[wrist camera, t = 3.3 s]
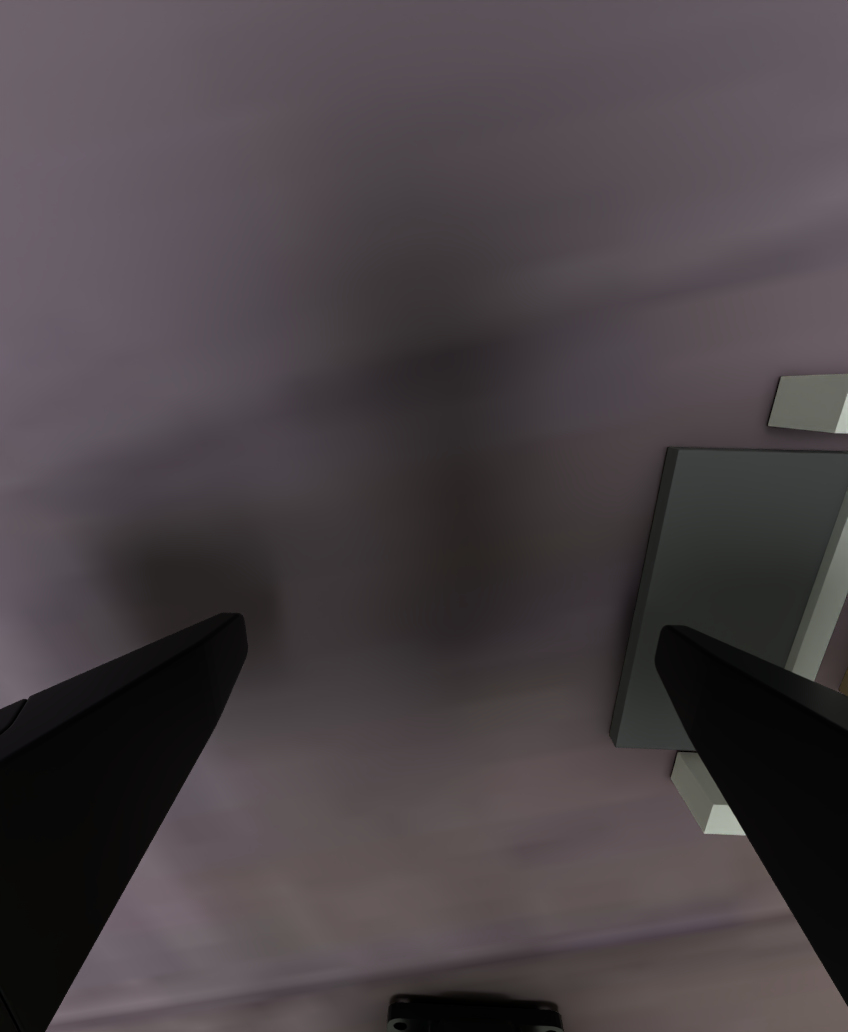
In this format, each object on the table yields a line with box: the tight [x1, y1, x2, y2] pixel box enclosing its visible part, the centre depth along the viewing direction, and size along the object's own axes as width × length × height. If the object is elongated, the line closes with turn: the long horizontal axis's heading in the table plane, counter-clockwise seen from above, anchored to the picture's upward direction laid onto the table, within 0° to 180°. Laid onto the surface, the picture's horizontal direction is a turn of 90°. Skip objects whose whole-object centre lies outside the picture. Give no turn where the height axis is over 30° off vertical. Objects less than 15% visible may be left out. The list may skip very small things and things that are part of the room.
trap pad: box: [609, 447, 848, 751], centre depth 10 cm, size 8×4×1 cm, turn 179°
